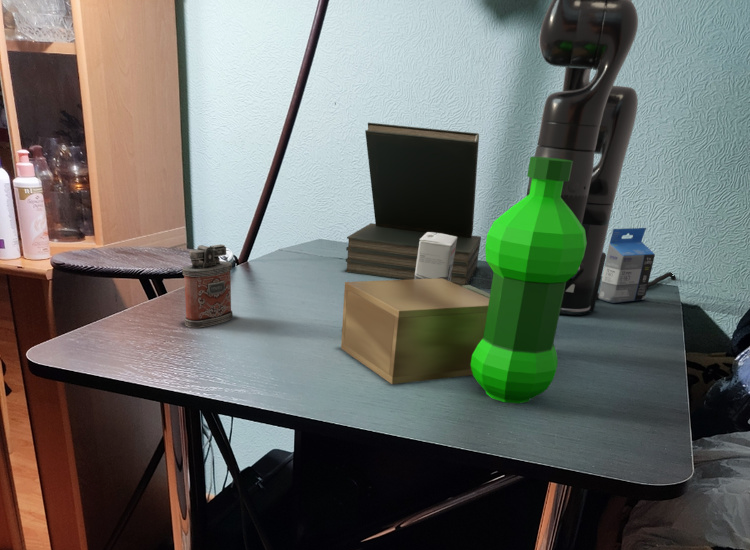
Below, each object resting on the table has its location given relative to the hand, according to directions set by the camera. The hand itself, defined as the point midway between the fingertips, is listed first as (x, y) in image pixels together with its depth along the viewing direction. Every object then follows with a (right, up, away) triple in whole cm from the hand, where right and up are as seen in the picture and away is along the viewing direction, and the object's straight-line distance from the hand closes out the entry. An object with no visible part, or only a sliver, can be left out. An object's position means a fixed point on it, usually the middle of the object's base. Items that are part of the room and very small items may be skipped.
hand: (532, 324), depth 98 cm
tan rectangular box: (-16, -6, -6) cm, 19 cm away
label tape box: (+24, +13, +35) cm, 44 cm away
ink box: (-13, +4, +13) cm, 19 cm away
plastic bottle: (-6, -12, -15) cm, 20 cm away
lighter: (-45, +1, +2) cm, 45 cm away
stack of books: (-14, +21, +43) cm, 50 cm away
